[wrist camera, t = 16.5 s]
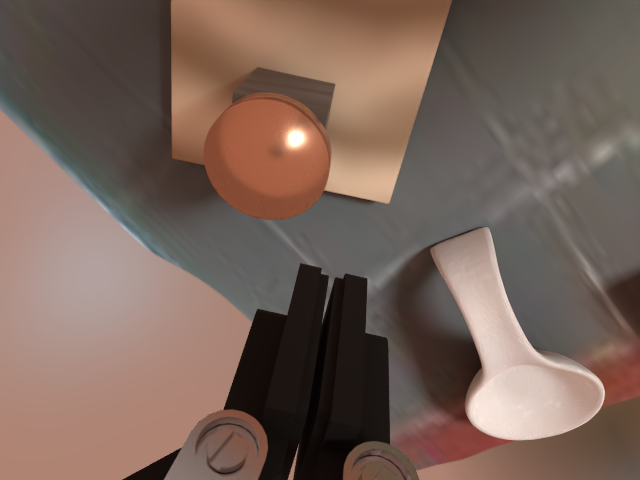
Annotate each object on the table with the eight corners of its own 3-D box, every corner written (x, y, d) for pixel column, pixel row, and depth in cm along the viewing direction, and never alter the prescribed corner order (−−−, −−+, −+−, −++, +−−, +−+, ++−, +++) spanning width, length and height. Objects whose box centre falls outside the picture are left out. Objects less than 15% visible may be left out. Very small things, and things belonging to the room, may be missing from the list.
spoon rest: (601, 393, 43) (638, 463, 37) (482, 421, 47) (498, 489, 41) (527, 203, 33) (562, 259, 27) (385, 260, 37) (387, 320, 31)
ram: (242, 57, 26) (206, 88, 20) (347, 80, 26) (341, 117, 21) (234, 156, 30) (201, 206, 24) (327, 175, 30) (317, 230, 24)
